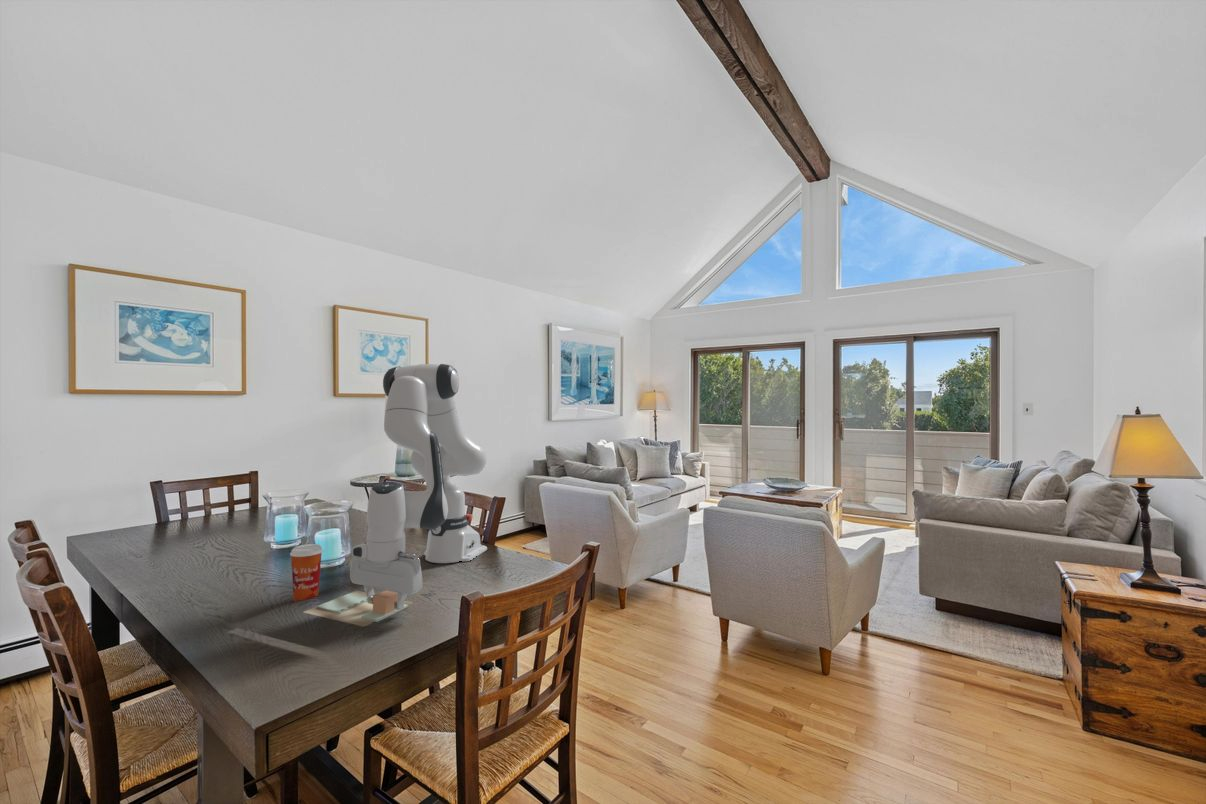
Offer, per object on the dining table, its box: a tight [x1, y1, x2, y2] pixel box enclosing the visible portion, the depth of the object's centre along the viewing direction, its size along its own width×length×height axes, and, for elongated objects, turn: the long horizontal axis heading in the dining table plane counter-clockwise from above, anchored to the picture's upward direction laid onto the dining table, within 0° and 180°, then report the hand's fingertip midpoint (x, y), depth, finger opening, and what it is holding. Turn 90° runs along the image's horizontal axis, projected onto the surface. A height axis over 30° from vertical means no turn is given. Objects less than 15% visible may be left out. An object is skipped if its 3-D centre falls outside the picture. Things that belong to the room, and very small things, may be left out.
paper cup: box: [289, 543, 324, 602], centre depth 140 cm, size 8×8×14 cm
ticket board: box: [303, 590, 414, 627], centre depth 133 cm, size 16×20×2 cm
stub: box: [361, 589, 409, 623], centre depth 129 cm, size 10×5×4 cm, turn 157°
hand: (385, 605), depth 129 cm, fingers open, 7 cm apart
